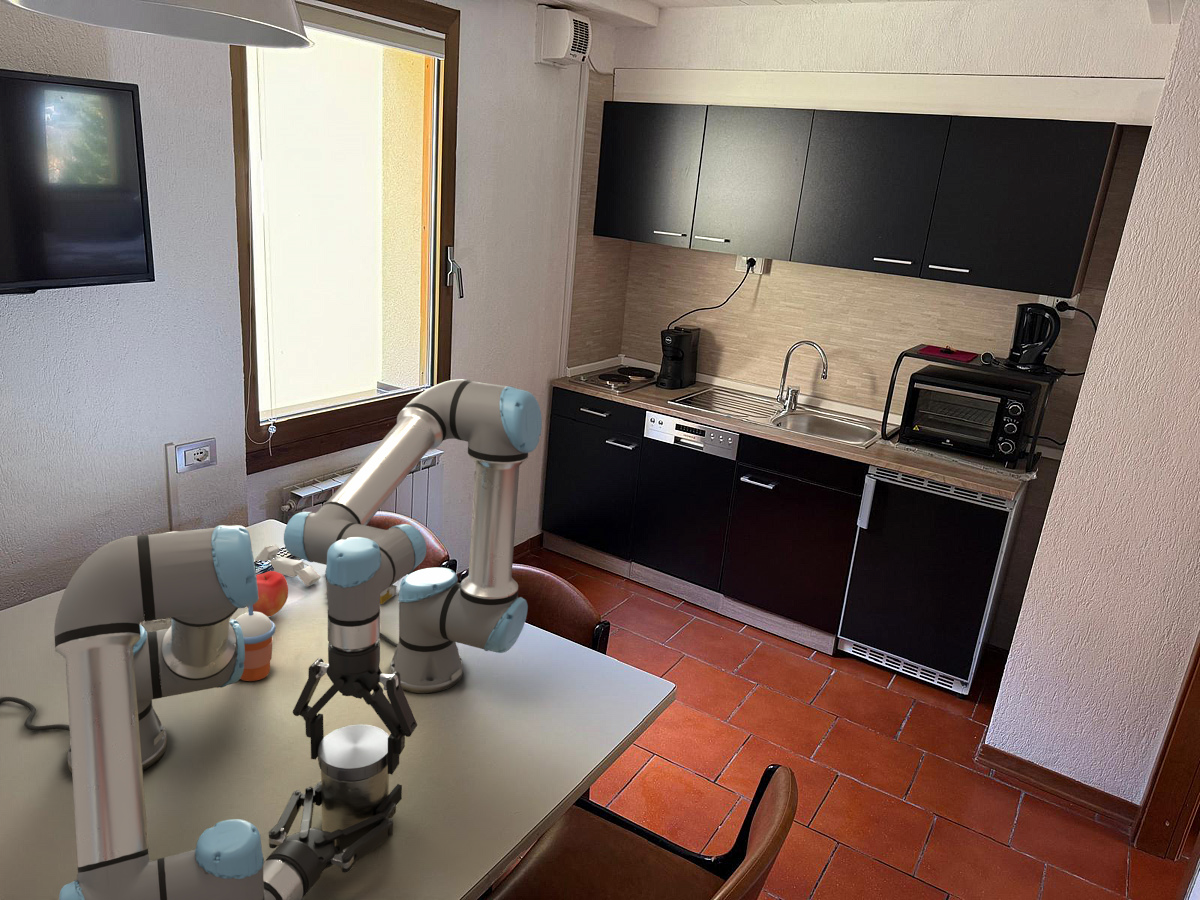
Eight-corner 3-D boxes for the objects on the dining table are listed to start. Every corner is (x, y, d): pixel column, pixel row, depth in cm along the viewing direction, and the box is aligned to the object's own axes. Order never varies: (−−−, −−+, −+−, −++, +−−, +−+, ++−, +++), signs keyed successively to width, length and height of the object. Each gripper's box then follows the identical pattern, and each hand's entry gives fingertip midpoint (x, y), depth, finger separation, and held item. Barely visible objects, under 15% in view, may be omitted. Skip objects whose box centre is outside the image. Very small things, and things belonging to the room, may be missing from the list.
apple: (273, 600, 207) (272, 562, 204) (297, 613, 202) (296, 575, 199) (237, 614, 200) (234, 575, 197) (261, 628, 194) (259, 588, 191)
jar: (308, 832, 137) (306, 751, 132) (359, 798, 145) (359, 721, 140) (351, 863, 131) (350, 780, 127) (401, 826, 140) (402, 747, 135)
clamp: (253, 565, 223) (254, 542, 221) (265, 560, 226) (266, 537, 224) (309, 593, 215) (310, 569, 213) (320, 588, 218) (321, 564, 216)
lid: (332, 790, 127) (332, 777, 126) (307, 749, 135) (307, 737, 134) (402, 765, 133) (402, 753, 132) (374, 728, 142) (374, 716, 141)
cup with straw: (261, 689, 172) (257, 609, 167) (220, 681, 174) (215, 601, 168) (285, 666, 181) (283, 589, 175) (246, 658, 182) (243, 582, 177)
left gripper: (217, 877, 124) (310, 783, 144) (354, 926, 118) (431, 820, 138) (214, 835, 122) (309, 745, 142) (354, 882, 116) (432, 781, 136)
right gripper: (440, 640, 130) (437, 760, 136) (292, 615, 133) (296, 733, 140) (421, 666, 123) (419, 791, 129) (265, 639, 126) (271, 762, 133)
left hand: (369, 782), depth 140 cm, fingers closed on jar, 10 cm apart
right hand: (355, 761), depth 134 cm, fingers open, 12 cm apart
